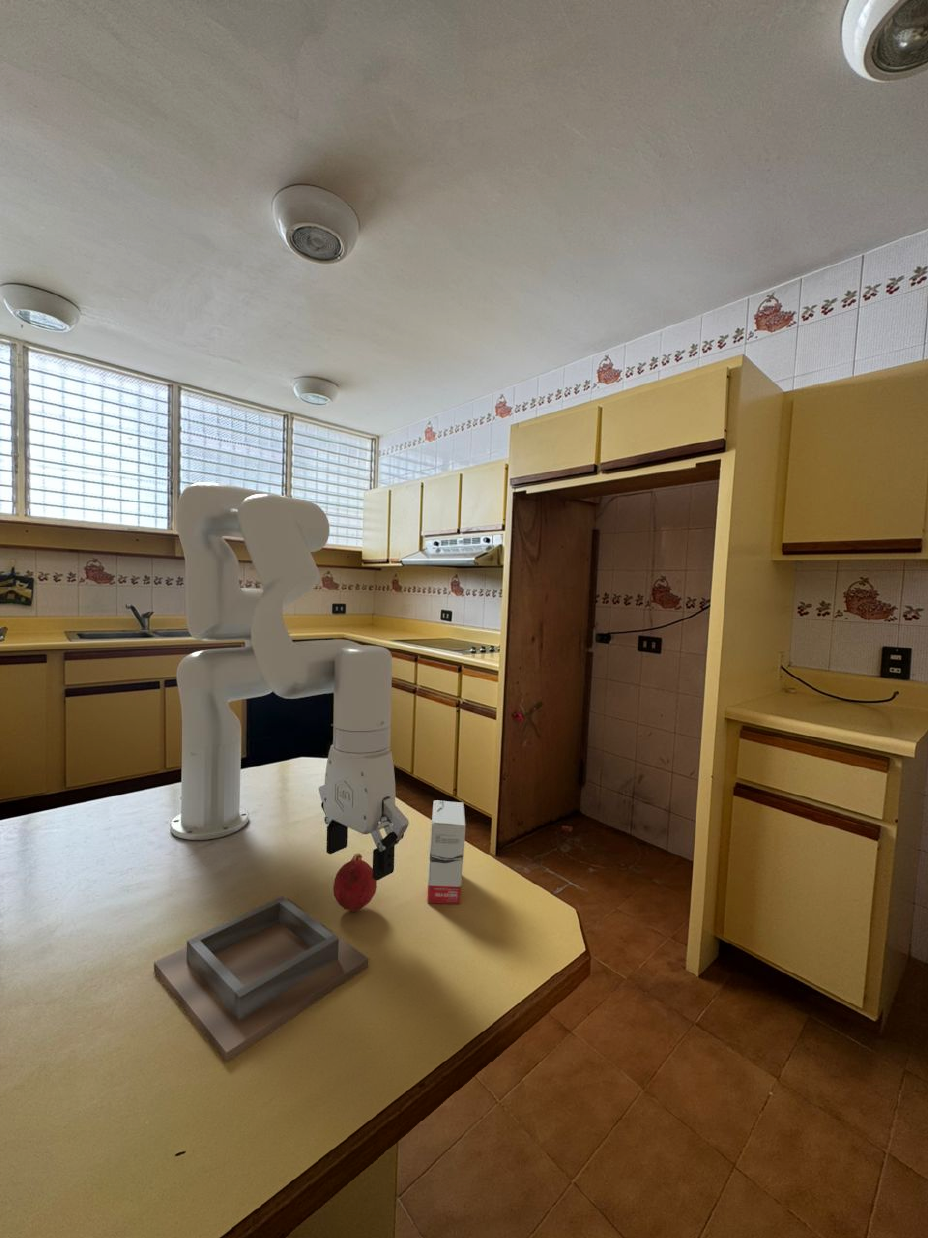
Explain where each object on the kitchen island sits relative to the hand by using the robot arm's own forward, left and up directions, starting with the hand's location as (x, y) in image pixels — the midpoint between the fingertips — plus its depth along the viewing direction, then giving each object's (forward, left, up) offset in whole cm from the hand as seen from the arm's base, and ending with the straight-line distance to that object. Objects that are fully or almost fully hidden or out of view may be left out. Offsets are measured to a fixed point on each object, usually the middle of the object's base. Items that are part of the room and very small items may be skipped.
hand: (359, 862), depth 72 cm
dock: (0, -14, -7) cm, 16 cm away
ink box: (+4, +13, -7) cm, 16 cm away
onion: (-1, 0, -7) cm, 7 cm away
